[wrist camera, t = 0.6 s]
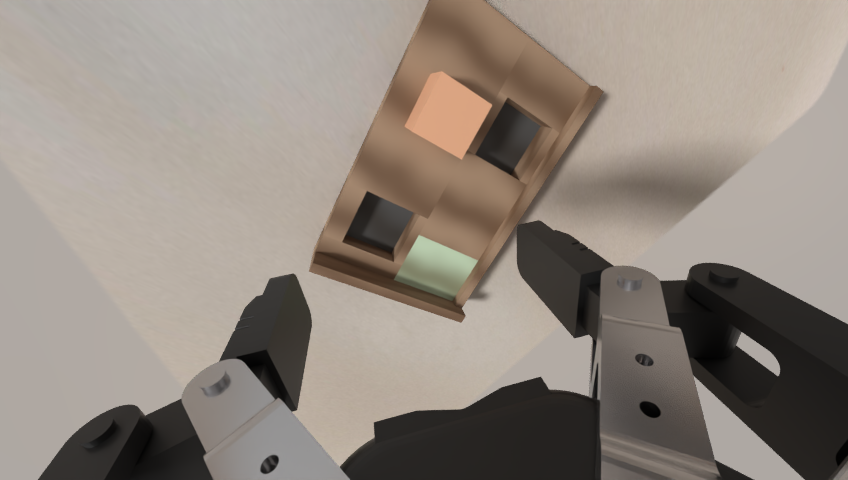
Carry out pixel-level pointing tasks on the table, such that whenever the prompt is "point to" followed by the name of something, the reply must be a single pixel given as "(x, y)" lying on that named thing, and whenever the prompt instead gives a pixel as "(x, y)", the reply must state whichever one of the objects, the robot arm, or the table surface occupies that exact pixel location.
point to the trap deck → (451, 163)
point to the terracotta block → (448, 114)
